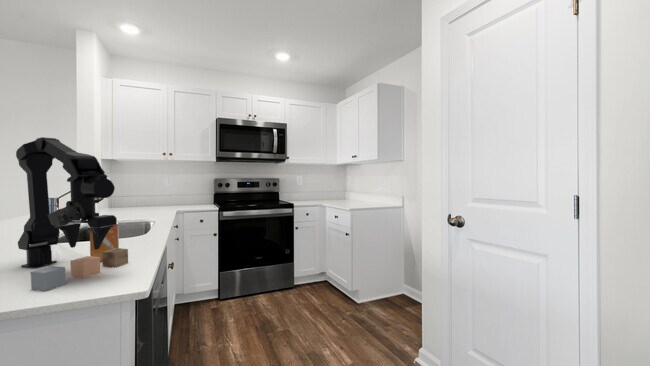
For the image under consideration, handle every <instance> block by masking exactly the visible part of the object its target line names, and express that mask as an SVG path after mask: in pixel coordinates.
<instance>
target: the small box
mask: <svg viewBox="0 0 650 366" xmlns="http://www.w3.org/2000/svg"><path fill="white" fill-rule="evenodd" d="M89 228H92V227H90V226H89ZM119 233H120V232H119V221H117V224H115V225H113V227H111V228H110V230H109V231H108V233H107V235H106V236H105V238H104V240H103V242H102V244H101V246H100V248H99V249H97V250H95V248H94V243H93V234H92V232H91V231H90V230H89V254H90V256H93V257H100V263H103V259H102V252H104V251H107V250H111V249H115V248H120V239H119V238H120V237H119Z"/></svg>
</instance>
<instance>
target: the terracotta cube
mask: <svg viewBox="0 0 650 366" xmlns="http://www.w3.org/2000/svg"><path fill="white" fill-rule="evenodd" d="M69 261H70V277H71V278H77V279H86V278H90V277H91V276H92V277H93V276H95V275H98V274H100V273H101V262H100V257H93V256H89V255H86V256H83V257H79V258H78V257H77V258H76V259H72V260H69Z"/></svg>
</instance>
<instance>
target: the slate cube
mask: <svg viewBox="0 0 650 366" xmlns="http://www.w3.org/2000/svg"><path fill="white" fill-rule="evenodd" d="M66 276H67V275H66V267H65V266H58V265H48V266H46V267H44V268H43V267H42V268H38V269H36V270H31V271H30V284H31V285H30V287H31V290H32V291H37V290H39V292H45V293H46V292H49V291H51V290H54V289H57V287H58V288H60V287H63V286H66V285H67V277H66Z"/></svg>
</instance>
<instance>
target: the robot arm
mask: <svg viewBox="0 0 650 366" xmlns="http://www.w3.org/2000/svg"><path fill="white" fill-rule="evenodd" d="M15 156H16V159H17V161H18V165H19V167H20V168H21V169H22V170H23V171H24V172H25V173H26V181H27V182H26V183H27V192H28V195H27V196H28V208H29V218H28V220H27V221H26V223H25V224H24V226H23V232H22V234H21V236H20V237H19V239H18V242H17V247H18V250H23V251H25V252H26V263H25V264H21V267H22V268H31V269H36V268H40V267H45V266H50V265H51V264H55V263H57V260H53V256H52V255H53V254H52V252H53V251H52V246H53V245H54V246H55V245H56V246H57V245H58V243H59V239H60V231H62V233H63V234H64V236H65V238H66V240H67V241H66V242H68V245H69V247H70V248H71V249H73V248H75V247H76V246H77V242H78V239H79V233H80V228H81V224H88V226H89V227H88V228H87V229H88V230H89V232H90V231H91V232H92V234H93V243H94V248H95V250H97V249H99V248H100V246H101V244H102V242H103V240H104V238H105V236H106V235H107V233H108V231H109V230H110V228H111V227H113V225H115V224H117V217H116V216H115V215H113V214H104V215H103V214H102V215H100V212H96V204H99V202H100V200H99V199H106V198H110V197H111V196H112V195H113V194H114V192H115V189H116V188H115V185H114V183H113V181H112V180H110V179H108V175H107V174H105V173H106V172H105V171H104V169H103V167H102V166H101V164H100V162H99V161H98V159H97V157H95V156H94V155H91V154H87V153H83V152H78V151H76V150H75V149H73V148H71V147H69V146H68V145H66V144H64V143H62V142H61V140H59V138H58V139H57V138H55V137H44V136H43V137H38V138H36V139H35V140H33V141H29V142H26V143H23V144H22V145H21V146H20V147H19V148H17V150H16V151H15ZM54 159H56V160H57V161H59V162H60V163H62V168H63V170H64V171H65V172H67V173H68V174H69V177H68V178H67V179H66V182H67V183H70V200H67V201H66V203H65V206H64V207H63V208H60V209H59V208H58V209H57V210H55V211H53V212H50V200H49V189H48V187H49V186H48V174H47V173H48V171H49V170H50V169H51V167H53V160H54ZM90 227H92V228H90Z"/></svg>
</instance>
